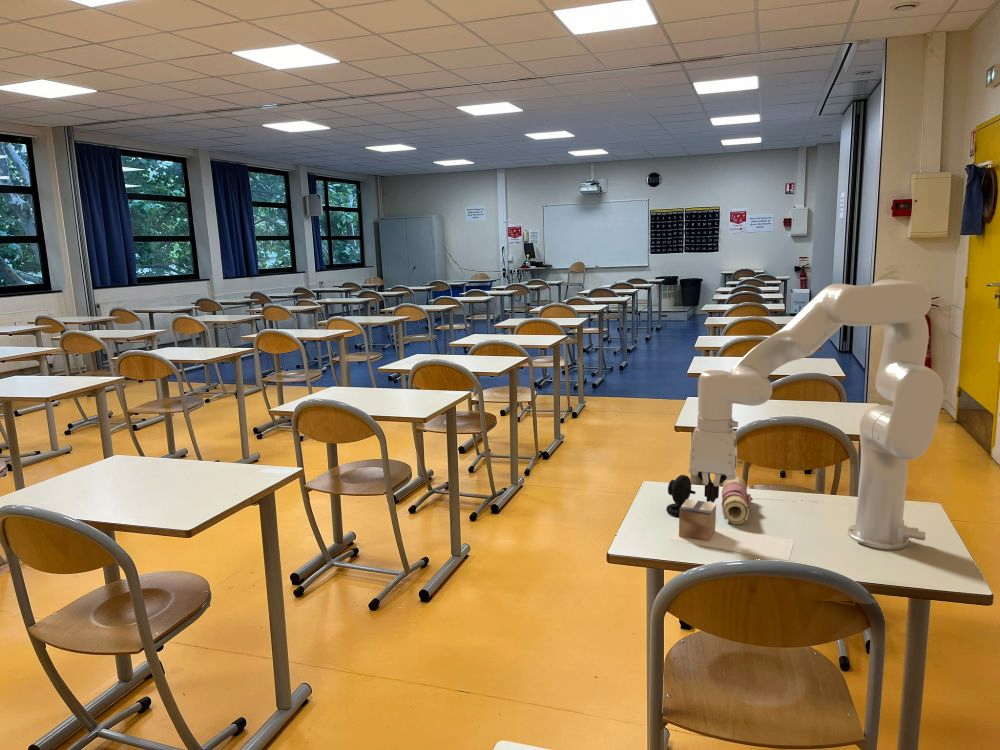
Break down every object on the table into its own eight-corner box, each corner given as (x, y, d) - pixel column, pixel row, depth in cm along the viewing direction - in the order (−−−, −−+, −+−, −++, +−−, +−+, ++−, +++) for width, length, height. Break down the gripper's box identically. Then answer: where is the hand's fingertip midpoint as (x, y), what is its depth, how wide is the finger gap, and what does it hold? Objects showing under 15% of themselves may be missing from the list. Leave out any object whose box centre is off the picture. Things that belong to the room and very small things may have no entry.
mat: (794, 541, 164) (794, 540, 164) (788, 562, 153) (788, 560, 153) (682, 522, 176) (682, 521, 176) (669, 540, 165) (669, 539, 165)
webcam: (674, 504, 188) (675, 468, 186) (701, 511, 183) (702, 474, 181) (660, 513, 182) (661, 476, 180) (687, 520, 177) (688, 482, 176)
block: (686, 498, 172) (685, 526, 173) (679, 508, 165) (678, 536, 167) (716, 503, 168) (715, 530, 170) (710, 513, 162) (708, 541, 163)
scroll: (757, 523, 171) (757, 496, 190) (745, 495, 171) (746, 470, 189) (727, 532, 174) (729, 504, 192) (715, 505, 174) (718, 479, 192)
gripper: (751, 424, 162) (747, 500, 165) (685, 417, 168) (683, 490, 172) (745, 431, 155) (741, 510, 158) (677, 424, 162) (675, 500, 165)
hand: (711, 500), depth 165 cm, fingers closed
